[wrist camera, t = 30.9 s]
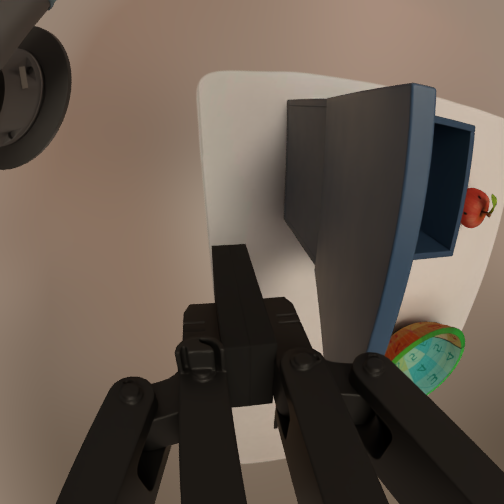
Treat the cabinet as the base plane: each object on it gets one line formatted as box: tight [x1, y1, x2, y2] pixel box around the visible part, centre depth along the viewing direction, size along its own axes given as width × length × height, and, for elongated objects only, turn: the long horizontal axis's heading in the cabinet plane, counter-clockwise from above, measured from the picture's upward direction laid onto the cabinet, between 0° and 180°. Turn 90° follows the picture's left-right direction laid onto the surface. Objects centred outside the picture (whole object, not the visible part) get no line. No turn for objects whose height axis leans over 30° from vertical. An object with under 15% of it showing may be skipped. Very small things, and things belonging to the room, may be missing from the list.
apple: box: [461, 188, 497, 228], centre depth 43 cm, size 8×7×10 cm
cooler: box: [284, 99, 475, 264], centre depth 36 cm, size 19×17×14 cm
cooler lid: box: [315, 83, 436, 363], centre depth 19 cm, size 20×17×1 cm
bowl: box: [385, 322, 465, 395], centre depth 56 cm, size 22×22×10 cm
